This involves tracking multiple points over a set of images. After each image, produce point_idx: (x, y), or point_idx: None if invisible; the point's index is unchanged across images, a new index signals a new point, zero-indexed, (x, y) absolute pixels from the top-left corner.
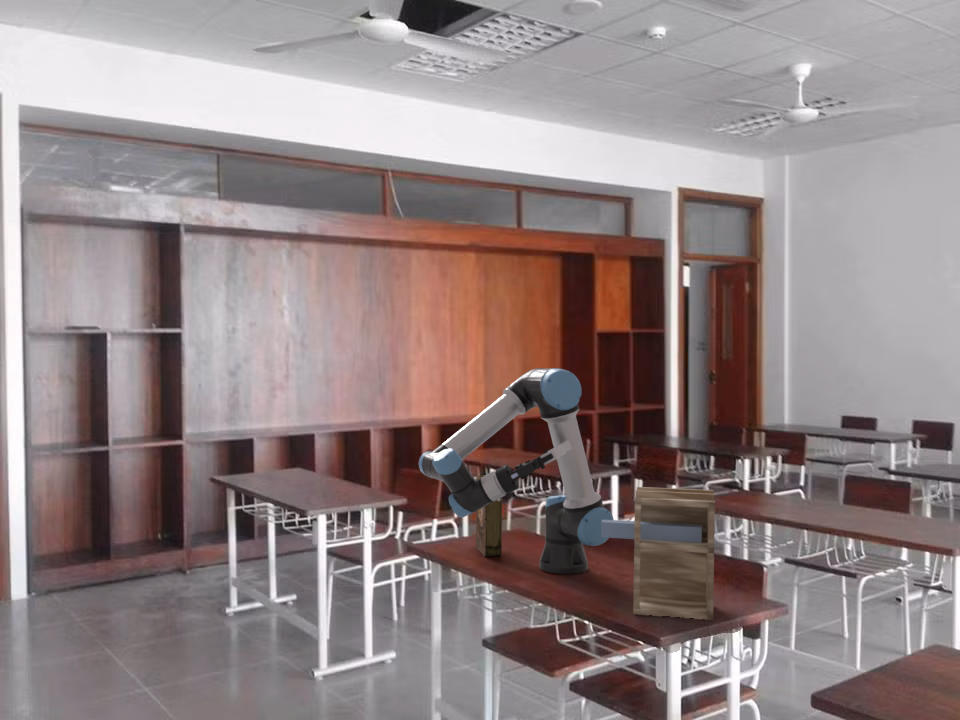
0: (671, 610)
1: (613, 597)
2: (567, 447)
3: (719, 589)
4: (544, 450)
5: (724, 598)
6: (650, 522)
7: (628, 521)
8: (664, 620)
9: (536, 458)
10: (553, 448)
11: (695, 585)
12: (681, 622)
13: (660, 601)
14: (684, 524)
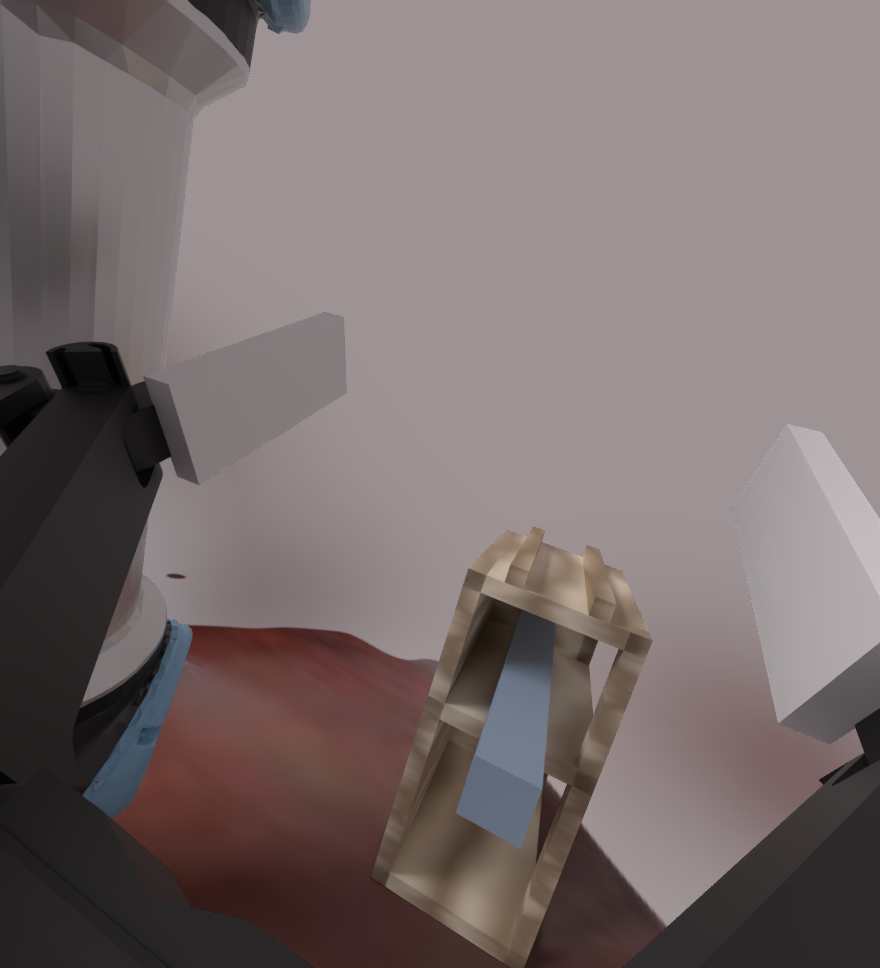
0: (528, 849)
1: (318, 945)
2: (329, 376)
3: (334, 670)
4: (50, 351)
5: (393, 695)
6: (514, 661)
7: (506, 697)
8: (563, 900)
9: (54, 516)
10: (236, 361)
11: (451, 726)
12: (569, 864)
13: (449, 832)
14: (527, 624)
